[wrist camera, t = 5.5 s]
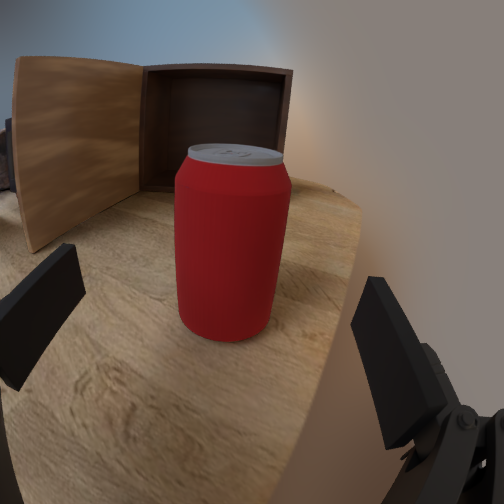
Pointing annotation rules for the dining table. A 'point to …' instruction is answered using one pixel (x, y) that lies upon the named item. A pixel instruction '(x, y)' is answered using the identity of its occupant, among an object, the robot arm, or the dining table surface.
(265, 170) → the beverage can
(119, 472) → the dining table surface
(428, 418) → the robot arm
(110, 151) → the cabinet door
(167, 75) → the cabinet
